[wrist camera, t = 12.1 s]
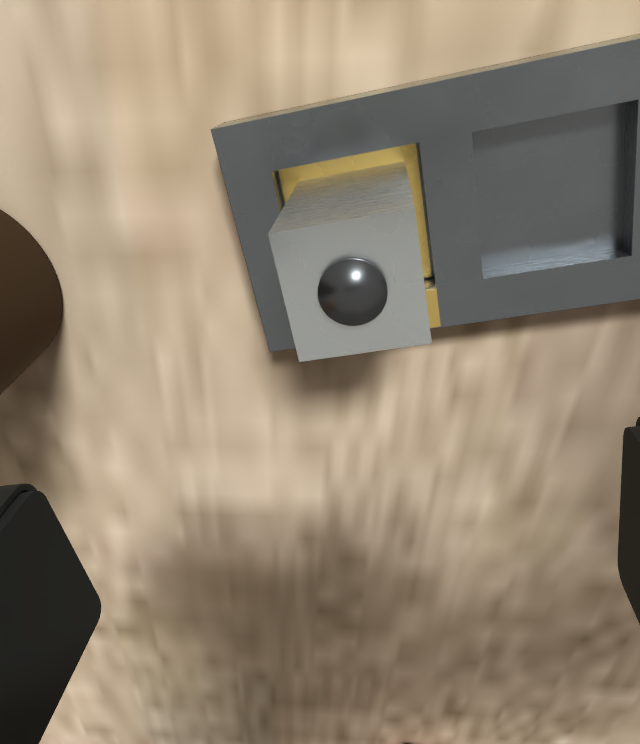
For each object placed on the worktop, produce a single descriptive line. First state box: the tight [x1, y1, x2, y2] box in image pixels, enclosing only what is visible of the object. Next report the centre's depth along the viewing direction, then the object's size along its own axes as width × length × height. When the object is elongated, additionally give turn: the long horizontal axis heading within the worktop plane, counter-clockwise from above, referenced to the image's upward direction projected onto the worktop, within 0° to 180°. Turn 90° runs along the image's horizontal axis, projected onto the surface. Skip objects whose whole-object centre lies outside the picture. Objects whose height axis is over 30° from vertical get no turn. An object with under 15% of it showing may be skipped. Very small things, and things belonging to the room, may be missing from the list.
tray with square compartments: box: [211, 34, 640, 352], centre depth 25 cm, size 26×10×2 cm, turn 101°
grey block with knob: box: [268, 161, 432, 362], centre depth 22 cm, size 4×4×8 cm
